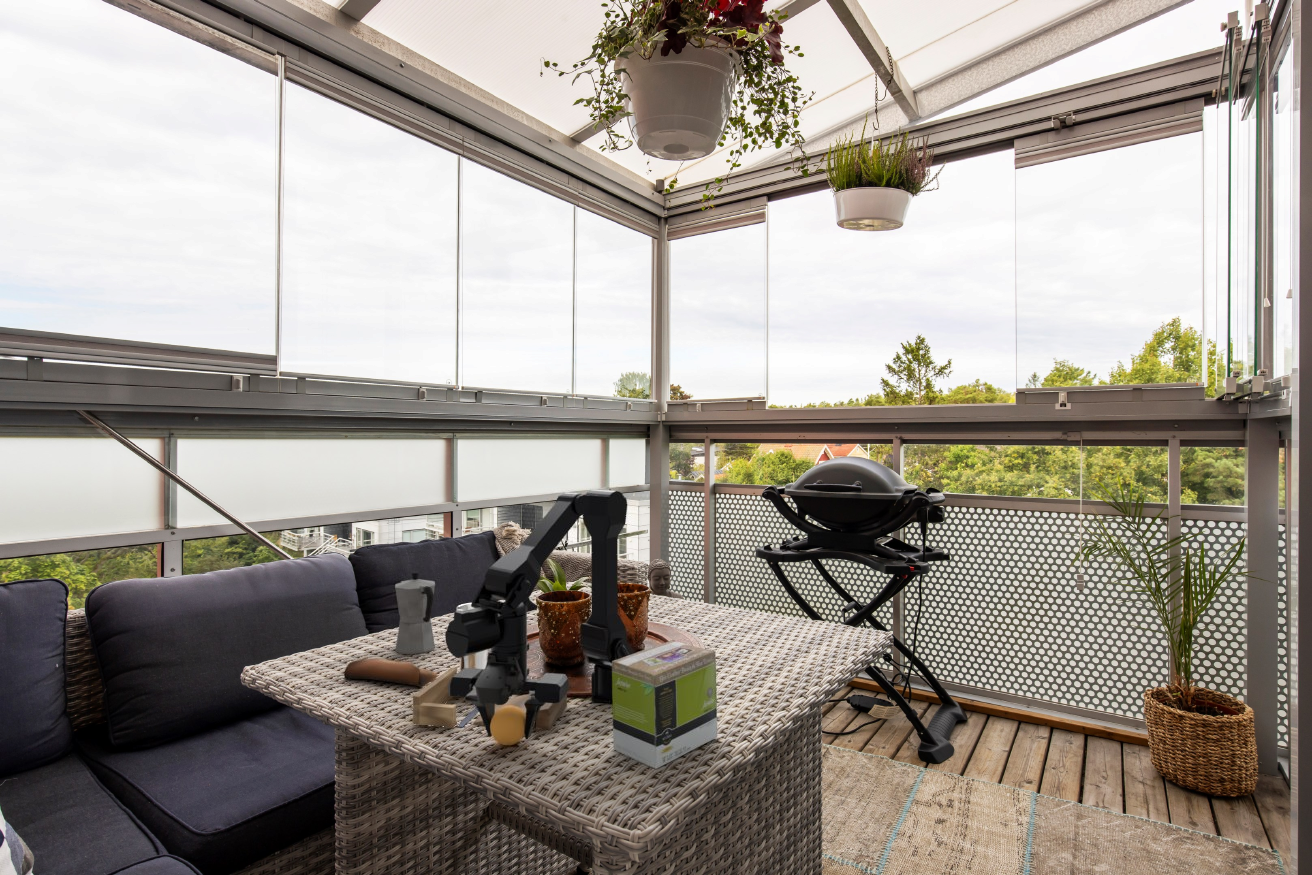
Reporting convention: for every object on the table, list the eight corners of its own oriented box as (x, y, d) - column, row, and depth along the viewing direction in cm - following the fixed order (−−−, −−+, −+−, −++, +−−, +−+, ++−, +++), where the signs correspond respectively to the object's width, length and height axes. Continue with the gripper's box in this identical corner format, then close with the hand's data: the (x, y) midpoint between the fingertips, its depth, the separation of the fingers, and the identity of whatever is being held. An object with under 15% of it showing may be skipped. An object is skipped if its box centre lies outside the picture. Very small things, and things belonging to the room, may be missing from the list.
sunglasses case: (443, 674, 144) (434, 651, 141) (426, 702, 138) (416, 679, 135) (370, 666, 149) (359, 644, 146) (351, 692, 143) (339, 670, 140)
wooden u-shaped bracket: (494, 696, 132) (494, 670, 132) (460, 728, 118) (460, 699, 118) (451, 693, 134) (451, 667, 134) (412, 724, 120) (412, 696, 120)
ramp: (567, 711, 128) (567, 687, 128) (549, 735, 118) (549, 708, 118) (495, 706, 130) (495, 682, 130) (473, 729, 120) (473, 703, 120)
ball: (533, 736, 115) (532, 700, 115) (520, 753, 109) (520, 715, 109) (498, 733, 116) (498, 698, 116) (484, 750, 110) (484, 712, 110)
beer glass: (481, 687, 137) (481, 611, 137) (449, 684, 139) (449, 609, 138) (496, 674, 144) (496, 603, 144) (465, 672, 145) (465, 601, 145)
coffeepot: (384, 646, 163) (384, 569, 163) (422, 637, 169) (422, 564, 169) (411, 662, 152) (411, 580, 151) (451, 653, 158) (451, 574, 158)
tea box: (673, 721, 121) (674, 637, 121) (718, 739, 114) (718, 650, 114) (610, 750, 111) (610, 658, 110) (655, 771, 104) (656, 673, 103)
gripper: (431, 654, 106) (431, 755, 106) (548, 661, 103) (548, 765, 103) (463, 633, 117) (463, 724, 117) (569, 639, 114) (569, 733, 114)
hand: (509, 737), depth 113 cm, fingers closed on ball, 6 cm apart
